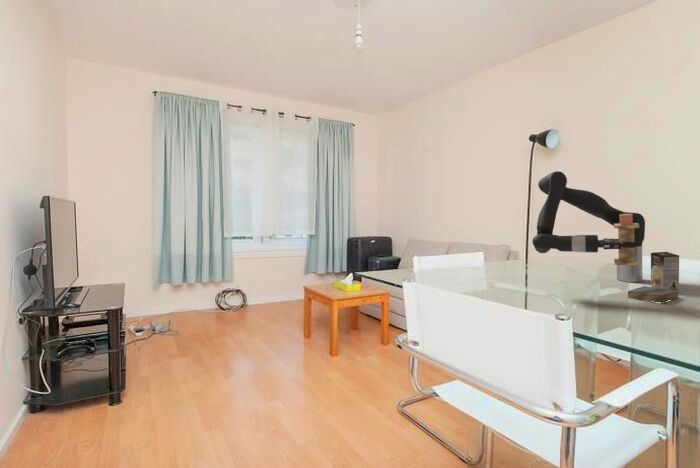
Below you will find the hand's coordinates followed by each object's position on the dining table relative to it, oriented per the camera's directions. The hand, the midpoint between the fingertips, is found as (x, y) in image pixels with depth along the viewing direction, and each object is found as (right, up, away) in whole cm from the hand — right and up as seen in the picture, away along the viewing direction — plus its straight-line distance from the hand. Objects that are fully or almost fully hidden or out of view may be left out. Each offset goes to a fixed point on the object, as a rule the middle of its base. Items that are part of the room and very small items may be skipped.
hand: (634, 243), depth 147 cm
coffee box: (+23, -21, +13) cm, 34 cm away
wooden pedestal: (-1, -8, +2) cm, 8 cm away
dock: (+10, -23, +4) cm, 25 cm away
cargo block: (-3, +8, +1) cm, 8 cm away
